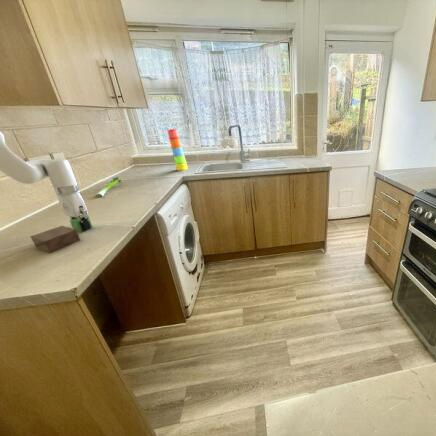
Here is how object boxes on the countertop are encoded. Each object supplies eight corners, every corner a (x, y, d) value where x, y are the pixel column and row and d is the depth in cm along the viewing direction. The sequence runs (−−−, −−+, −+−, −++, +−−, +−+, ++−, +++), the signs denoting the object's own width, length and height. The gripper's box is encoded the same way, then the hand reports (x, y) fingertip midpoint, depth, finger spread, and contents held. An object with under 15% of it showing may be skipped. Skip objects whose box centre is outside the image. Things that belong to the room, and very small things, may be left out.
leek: (94, 200, 151) (113, 183, 177) (107, 200, 153) (124, 183, 179) (91, 191, 148) (111, 175, 174) (104, 191, 150) (122, 175, 176)
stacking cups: (191, 170, 216) (181, 128, 202) (180, 172, 209) (169, 130, 195) (184, 168, 222) (175, 128, 208) (174, 171, 215) (163, 130, 201)
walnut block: (50, 253, 90) (44, 241, 88) (35, 247, 94) (29, 236, 92) (80, 240, 99) (76, 229, 97) (66, 236, 103) (61, 225, 101)
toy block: (80, 232, 106) (76, 222, 104) (73, 230, 107) (69, 220, 105) (93, 227, 110) (89, 217, 108) (86, 226, 112) (82, 216, 110)
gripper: (45, 190, 101) (62, 229, 109) (68, 194, 95) (85, 235, 102) (66, 185, 108) (81, 222, 115) (89, 189, 101) (104, 228, 109)
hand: (83, 228), depth 108 cm, fingers closed on toy block, 5 cm apart
